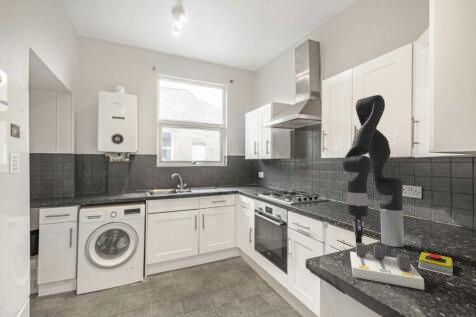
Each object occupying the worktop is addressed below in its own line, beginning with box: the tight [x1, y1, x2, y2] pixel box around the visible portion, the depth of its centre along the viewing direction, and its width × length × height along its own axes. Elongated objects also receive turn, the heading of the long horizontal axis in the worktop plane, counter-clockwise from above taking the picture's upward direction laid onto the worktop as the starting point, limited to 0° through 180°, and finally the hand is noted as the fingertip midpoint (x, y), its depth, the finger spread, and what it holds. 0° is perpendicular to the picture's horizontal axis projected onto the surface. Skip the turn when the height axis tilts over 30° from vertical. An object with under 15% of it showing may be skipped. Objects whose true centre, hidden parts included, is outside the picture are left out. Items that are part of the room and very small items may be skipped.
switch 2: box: [372, 244, 385, 259], centre depth 82 cm, size 3×3×4 cm
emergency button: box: [417, 251, 454, 276], centre depth 83 cm, size 9×4×15 cm
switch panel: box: [349, 251, 425, 291], centre depth 77 cm, size 17×19×3 cm
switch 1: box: [355, 241, 367, 256], centre depth 84 cm, size 3×3×4 cm
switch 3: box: [396, 253, 412, 270], centre depth 73 cm, size 3×3×4 cm
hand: (358, 245), depth 89 cm, fingers closed
